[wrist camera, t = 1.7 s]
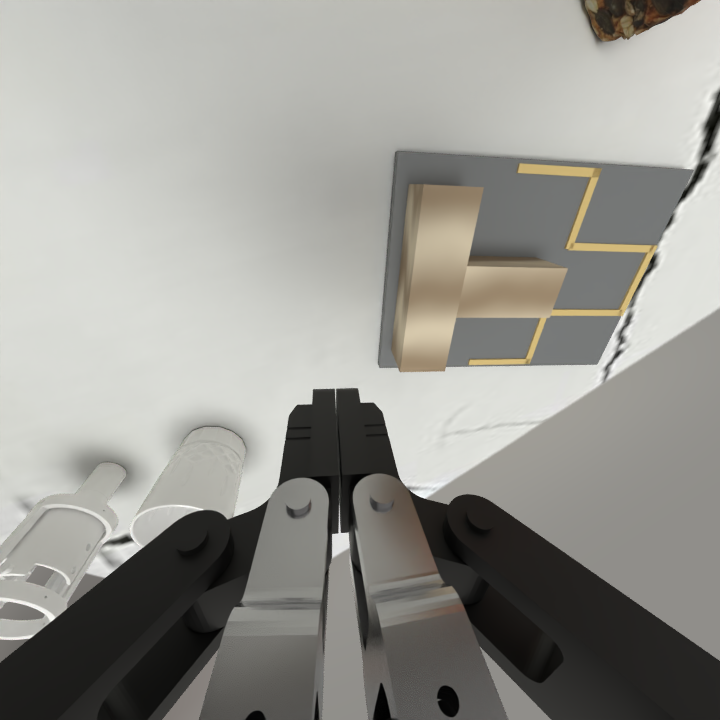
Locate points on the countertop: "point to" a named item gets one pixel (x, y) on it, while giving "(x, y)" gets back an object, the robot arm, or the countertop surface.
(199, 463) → the white cup
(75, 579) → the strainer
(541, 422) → the countertop surface
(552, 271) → the t block
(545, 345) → the board
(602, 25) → the bread
